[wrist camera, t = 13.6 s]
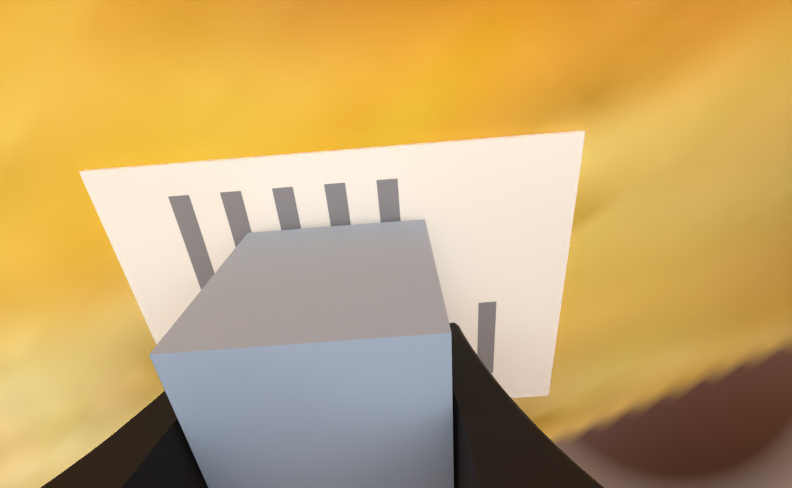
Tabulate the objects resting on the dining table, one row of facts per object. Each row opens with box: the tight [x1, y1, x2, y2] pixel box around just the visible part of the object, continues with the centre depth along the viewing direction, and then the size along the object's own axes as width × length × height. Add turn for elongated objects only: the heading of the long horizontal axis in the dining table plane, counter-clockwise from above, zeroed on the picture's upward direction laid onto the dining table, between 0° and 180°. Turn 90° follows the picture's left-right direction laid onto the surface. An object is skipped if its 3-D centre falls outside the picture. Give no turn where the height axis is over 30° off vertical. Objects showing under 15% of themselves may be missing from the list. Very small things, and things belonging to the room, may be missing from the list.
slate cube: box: [149, 219, 454, 488], centre depth 10 cm, size 5×5×5 cm
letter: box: [79, 130, 585, 398], centre depth 13 cm, size 14×10×1 cm
